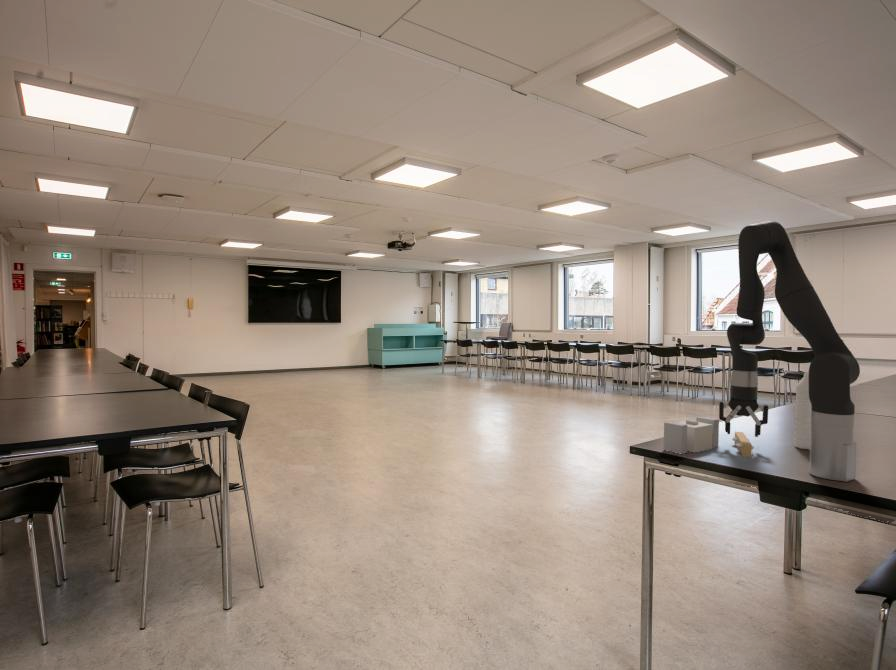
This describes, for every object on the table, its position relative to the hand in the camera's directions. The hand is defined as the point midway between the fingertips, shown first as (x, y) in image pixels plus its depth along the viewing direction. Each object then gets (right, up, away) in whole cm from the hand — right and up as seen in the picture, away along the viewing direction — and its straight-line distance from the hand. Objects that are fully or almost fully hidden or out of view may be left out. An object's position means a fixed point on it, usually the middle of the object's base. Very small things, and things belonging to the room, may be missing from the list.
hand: (742, 435), depth 166 cm
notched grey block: (-17, -4, 0) cm, 17 cm away
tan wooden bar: (0, -5, 0) cm, 5 cm away
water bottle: (+24, -5, +4) cm, 25 cm away
